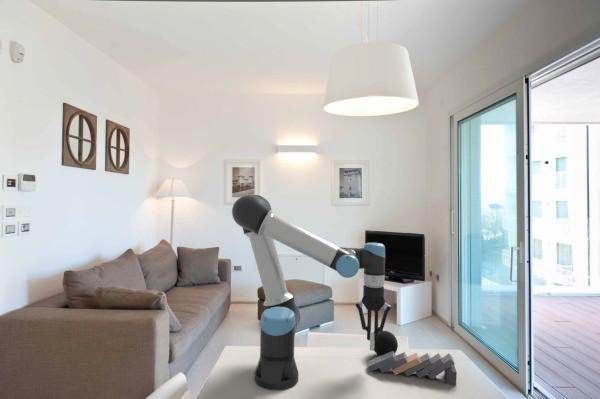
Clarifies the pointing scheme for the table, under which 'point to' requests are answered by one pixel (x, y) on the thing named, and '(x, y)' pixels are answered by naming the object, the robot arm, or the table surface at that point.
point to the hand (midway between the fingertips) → (372, 348)
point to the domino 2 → (399, 361)
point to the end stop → (451, 375)
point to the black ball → (385, 343)
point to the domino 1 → (382, 361)
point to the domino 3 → (407, 364)
